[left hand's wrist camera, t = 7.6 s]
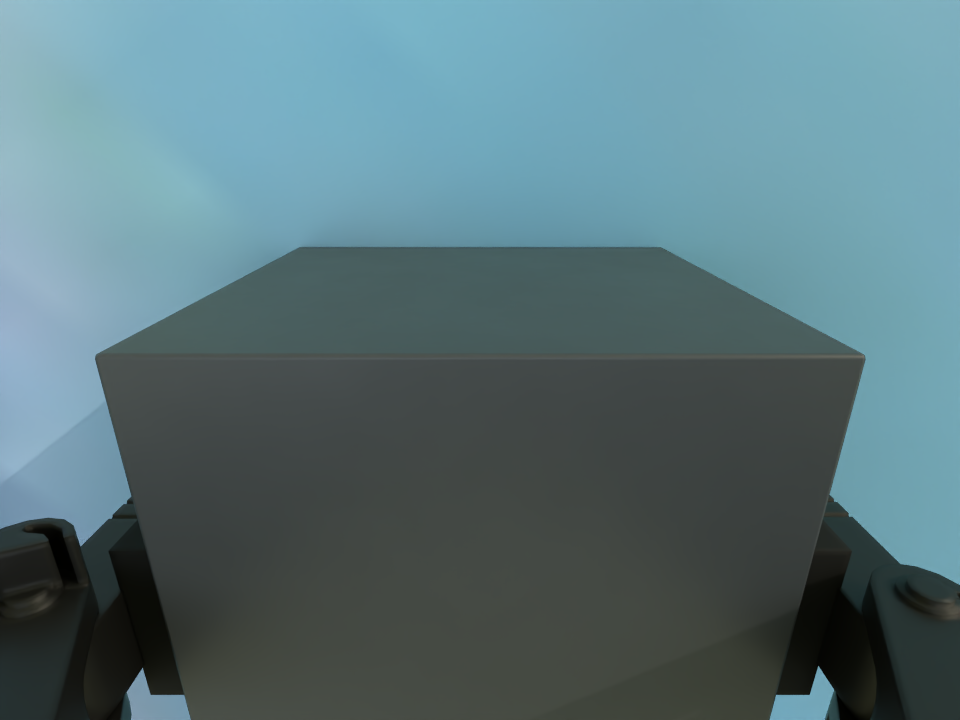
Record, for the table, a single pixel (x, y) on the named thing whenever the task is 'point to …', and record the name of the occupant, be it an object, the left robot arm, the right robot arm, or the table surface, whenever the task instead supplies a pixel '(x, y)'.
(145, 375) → the wide block
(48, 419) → the table surface
